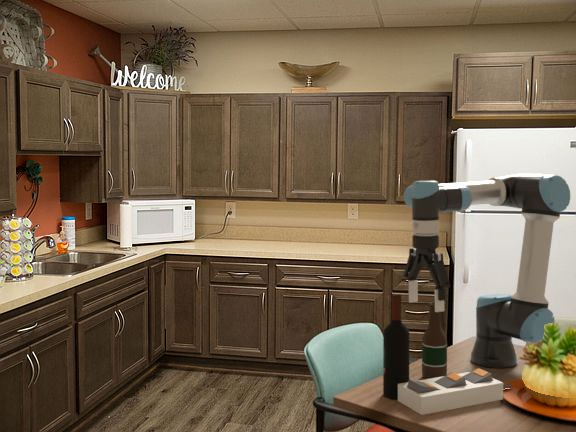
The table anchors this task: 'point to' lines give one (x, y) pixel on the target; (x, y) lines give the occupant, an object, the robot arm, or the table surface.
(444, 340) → the beer bottle
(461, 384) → the rocker
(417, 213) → the robot arm
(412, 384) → the rocker
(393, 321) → the wine bottle
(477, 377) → the rocker
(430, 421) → the table surface
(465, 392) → the power strip
